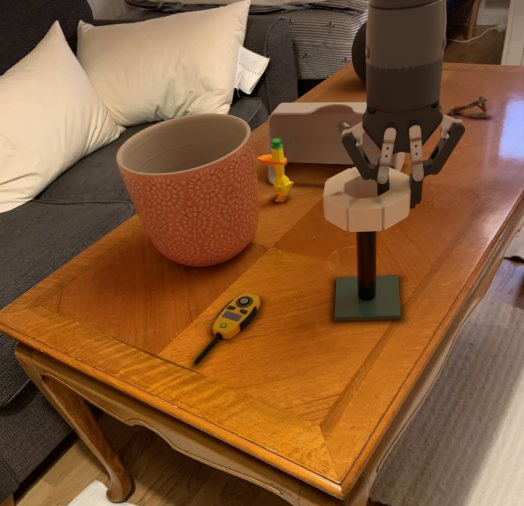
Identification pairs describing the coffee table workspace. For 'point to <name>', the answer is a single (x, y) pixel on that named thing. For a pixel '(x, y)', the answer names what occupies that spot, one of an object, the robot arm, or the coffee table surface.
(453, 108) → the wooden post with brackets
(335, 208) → the ring
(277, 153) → the toy figure
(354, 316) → the peg stand
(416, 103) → the robot arm
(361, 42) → the decorative egg
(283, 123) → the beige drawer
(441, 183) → the coffee table surface
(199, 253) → the planter
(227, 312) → the yellow handheld probe meter
